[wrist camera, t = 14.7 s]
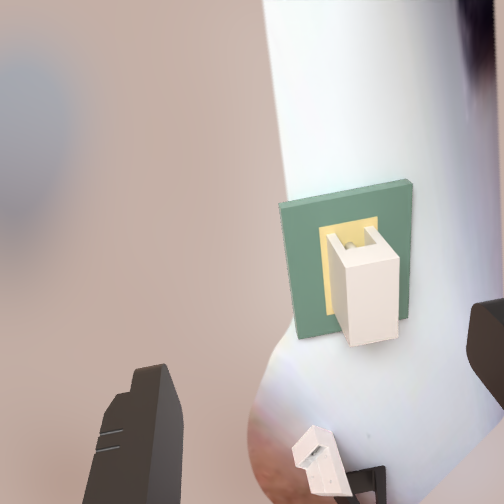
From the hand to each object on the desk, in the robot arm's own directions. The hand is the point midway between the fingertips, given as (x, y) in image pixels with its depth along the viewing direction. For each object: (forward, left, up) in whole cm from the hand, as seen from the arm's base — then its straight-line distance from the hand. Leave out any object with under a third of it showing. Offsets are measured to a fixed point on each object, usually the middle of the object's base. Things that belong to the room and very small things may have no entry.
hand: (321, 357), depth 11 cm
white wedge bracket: (+50, +3, -33) cm, 60 cm away
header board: (+19, +10, -33) cm, 39 cm away
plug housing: (+19, +10, -32) cm, 38 cm away
